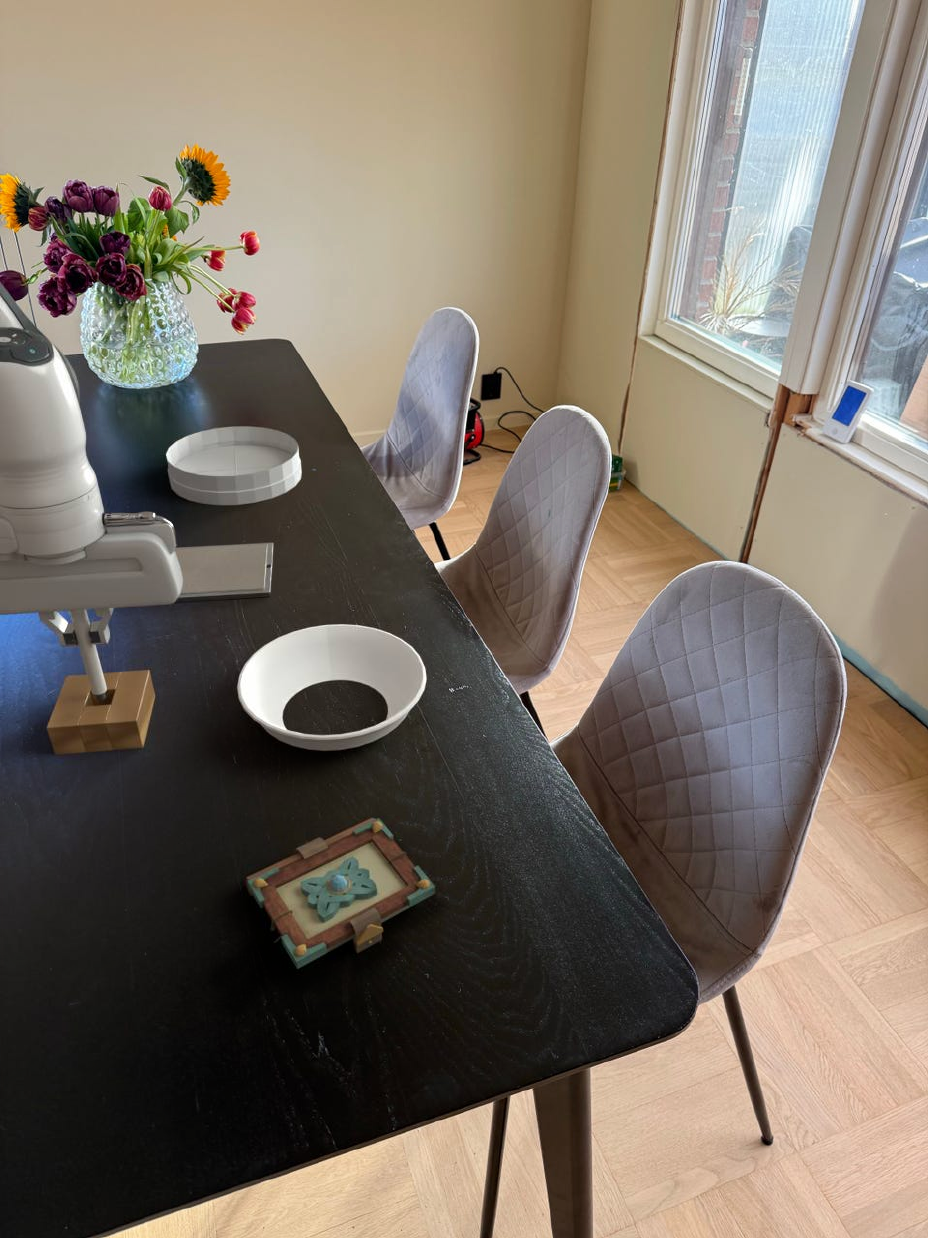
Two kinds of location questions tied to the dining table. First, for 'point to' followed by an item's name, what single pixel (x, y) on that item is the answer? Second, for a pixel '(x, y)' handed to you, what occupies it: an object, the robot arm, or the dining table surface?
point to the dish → (234, 465)
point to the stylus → (89, 653)
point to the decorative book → (338, 891)
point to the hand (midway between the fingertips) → (86, 642)
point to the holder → (102, 714)
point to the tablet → (225, 571)
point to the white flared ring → (331, 678)
